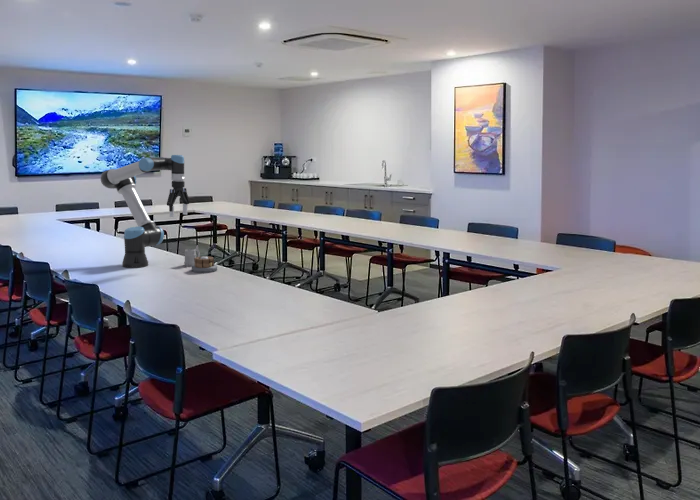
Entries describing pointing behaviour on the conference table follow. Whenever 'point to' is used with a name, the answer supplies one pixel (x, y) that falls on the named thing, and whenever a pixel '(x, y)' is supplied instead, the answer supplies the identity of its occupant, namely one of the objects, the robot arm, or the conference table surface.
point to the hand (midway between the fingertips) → (178, 215)
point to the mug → (191, 256)
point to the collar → (203, 262)
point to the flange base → (204, 270)
